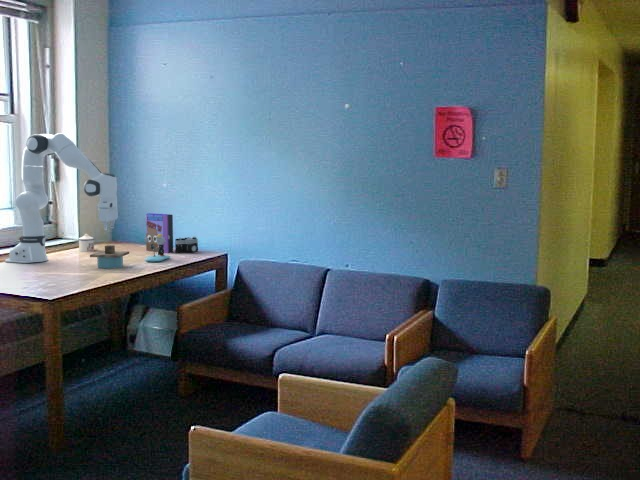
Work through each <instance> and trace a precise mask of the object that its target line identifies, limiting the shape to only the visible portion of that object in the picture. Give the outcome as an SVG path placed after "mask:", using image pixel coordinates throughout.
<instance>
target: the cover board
mask: <svg viewBox="0 0 640 480" xmlns="http://www.w3.org/2000/svg"><path fill="white" fill-rule="evenodd" d="M115 247H116V246H115V245H114V244H113V245H109V244H107V245H104V250H100V251H98V252H97V251H96V252H95V253H92V254H90V255H89V258H97V257H117V258H120V257H122V256H123V257H124V256H127V255H130V251H127V250H126V251H123V250H121V251H118V250H117V251H116V250H115Z"/></svg>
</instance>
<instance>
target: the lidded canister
mask: <svg viewBox="0 0 640 480" xmlns="http://www.w3.org/2000/svg"><path fill="white" fill-rule="evenodd" d="M78 246H79V247H78V251H79V252H80V253H91V252H95V238H94V237H93V236H90V235H89V234H88V233H84V235H83V236H81V237H79V238H78Z"/></svg>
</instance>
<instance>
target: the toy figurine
mask: <svg viewBox="0 0 640 480" xmlns="http://www.w3.org/2000/svg"><path fill="white" fill-rule="evenodd" d="M148 239H149V238H146V237H144V239H143V241H144V243H146V242H149V240H148ZM156 239H157V240H156V241H158V242H157V244H158V245H159V246H158V248H159V250H158V252H155V246H154V252H152V253H151V255H152V256H147V257H145V260H144V261H146V262H150V263H157V262H163V261H165V260H167V259H170V258H171V255H168V254H165V253H164V249H163V248H164V246H163V245H164V242H166V240H165V238H164V237H163V238H162V234H159V235H158V236H156ZM153 242H154V241H153ZM153 245H154V244H153ZM153 245H152V246H153ZM148 252H151V251H150V250H149V251H148ZM155 253H156V254H155Z"/></svg>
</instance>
